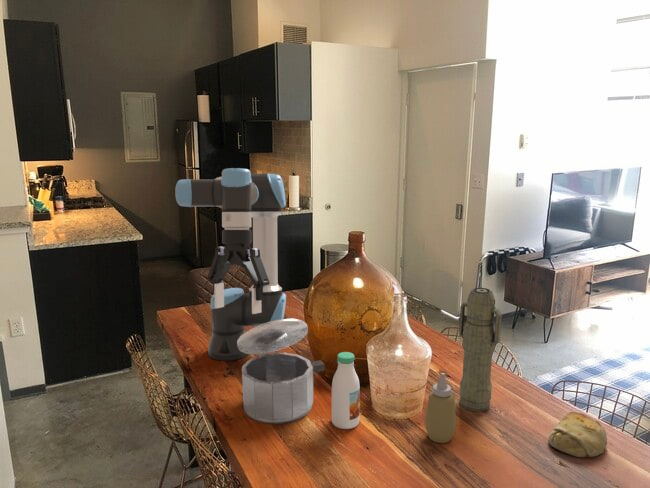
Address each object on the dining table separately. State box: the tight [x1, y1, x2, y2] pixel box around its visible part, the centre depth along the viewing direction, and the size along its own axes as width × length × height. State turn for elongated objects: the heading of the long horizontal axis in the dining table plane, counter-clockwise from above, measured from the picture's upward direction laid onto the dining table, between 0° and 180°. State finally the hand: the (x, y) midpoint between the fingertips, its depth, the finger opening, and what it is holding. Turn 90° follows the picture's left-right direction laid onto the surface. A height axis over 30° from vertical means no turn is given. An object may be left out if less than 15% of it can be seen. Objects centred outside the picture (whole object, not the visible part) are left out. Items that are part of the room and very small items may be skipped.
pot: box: [241, 352, 326, 425], centre depth 152 cm, size 24×20×12 cm
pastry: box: [547, 411, 608, 458], centre depth 131 cm, size 14×12×8 cm
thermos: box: [458, 287, 503, 412], centre depth 149 cm, size 9×12×35 cm
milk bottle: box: [331, 351, 361, 430], centre depth 141 cm, size 8×8×20 cm
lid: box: [237, 318, 309, 356], centre depth 152 cm, size 22×21×3 cm
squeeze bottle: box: [424, 372, 457, 444], centre depth 134 cm, size 8×8×18 cm
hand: (237, 310), depth 135 cm, fingers open, 13 cm apart
